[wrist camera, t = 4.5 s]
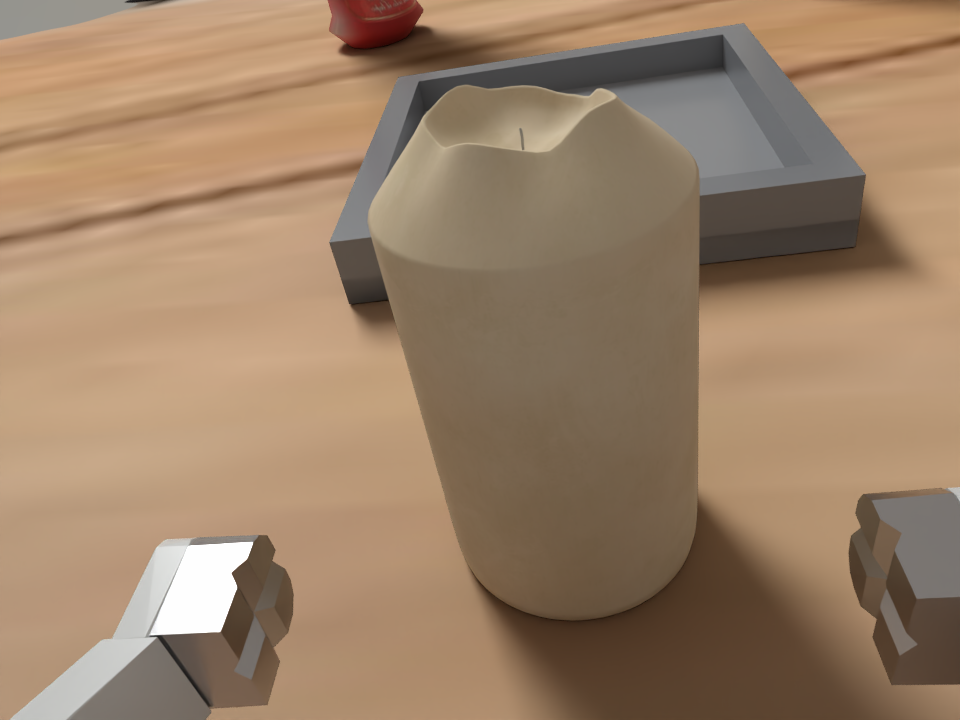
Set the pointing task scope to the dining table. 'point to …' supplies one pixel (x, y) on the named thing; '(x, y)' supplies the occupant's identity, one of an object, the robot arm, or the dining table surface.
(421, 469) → the dining table surface
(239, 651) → the robot arm
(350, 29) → the liquor
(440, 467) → the candle
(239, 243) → the dining table surface
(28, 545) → the dining table surface
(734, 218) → the dish
